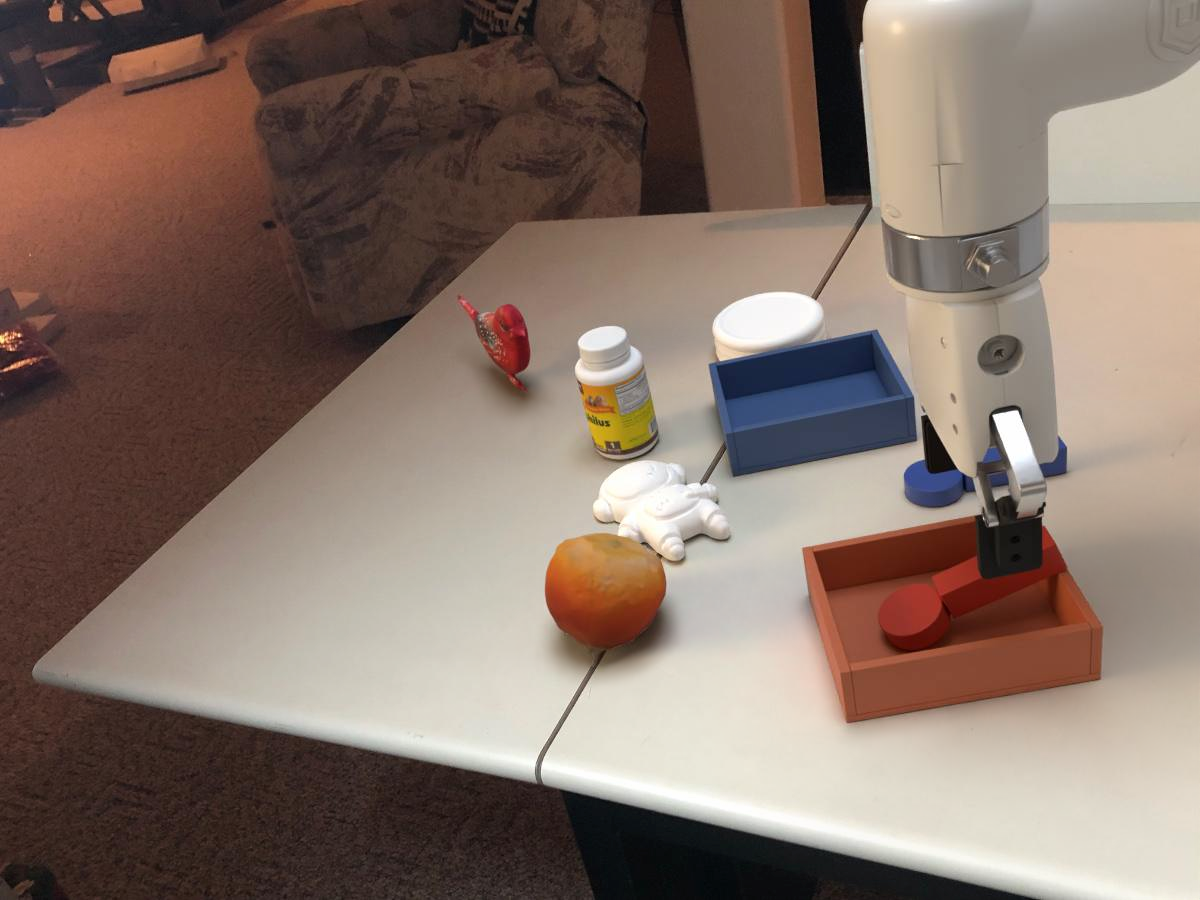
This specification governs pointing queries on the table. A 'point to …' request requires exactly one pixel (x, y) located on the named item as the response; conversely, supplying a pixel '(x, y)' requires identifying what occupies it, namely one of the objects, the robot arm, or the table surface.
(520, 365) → the decorative bird figurine
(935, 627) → the red spoon
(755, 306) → the white round container
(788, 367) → the blue tray
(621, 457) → the supplement bottle
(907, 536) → the terracotta tray
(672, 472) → the astronaut figurine
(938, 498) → the blue spoon
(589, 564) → the fruit
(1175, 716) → the table surface
